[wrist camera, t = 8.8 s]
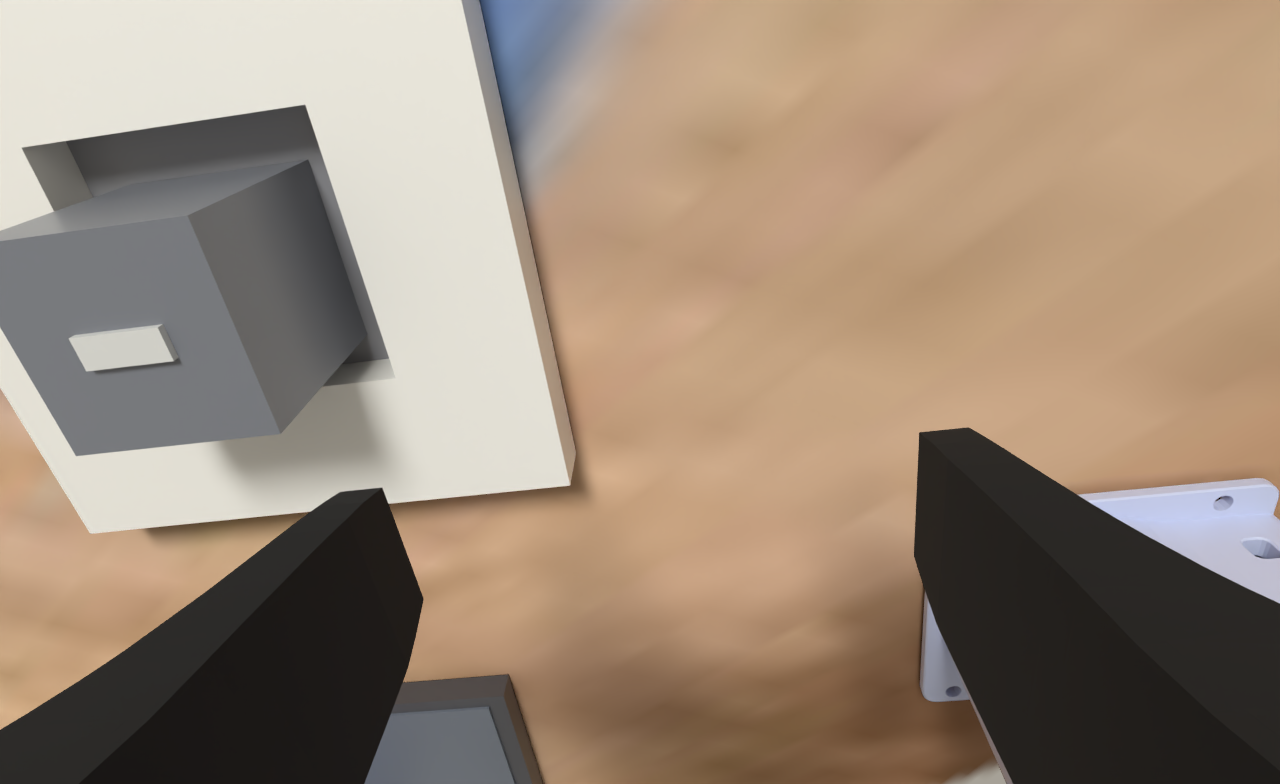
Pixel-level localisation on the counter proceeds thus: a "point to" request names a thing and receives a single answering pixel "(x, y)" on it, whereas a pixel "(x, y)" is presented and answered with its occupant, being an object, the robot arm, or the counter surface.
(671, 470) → the counter surface
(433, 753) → the phone
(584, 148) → the counter surface
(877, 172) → the counter surface
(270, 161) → the white square board
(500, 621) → the counter surface
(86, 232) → the block
